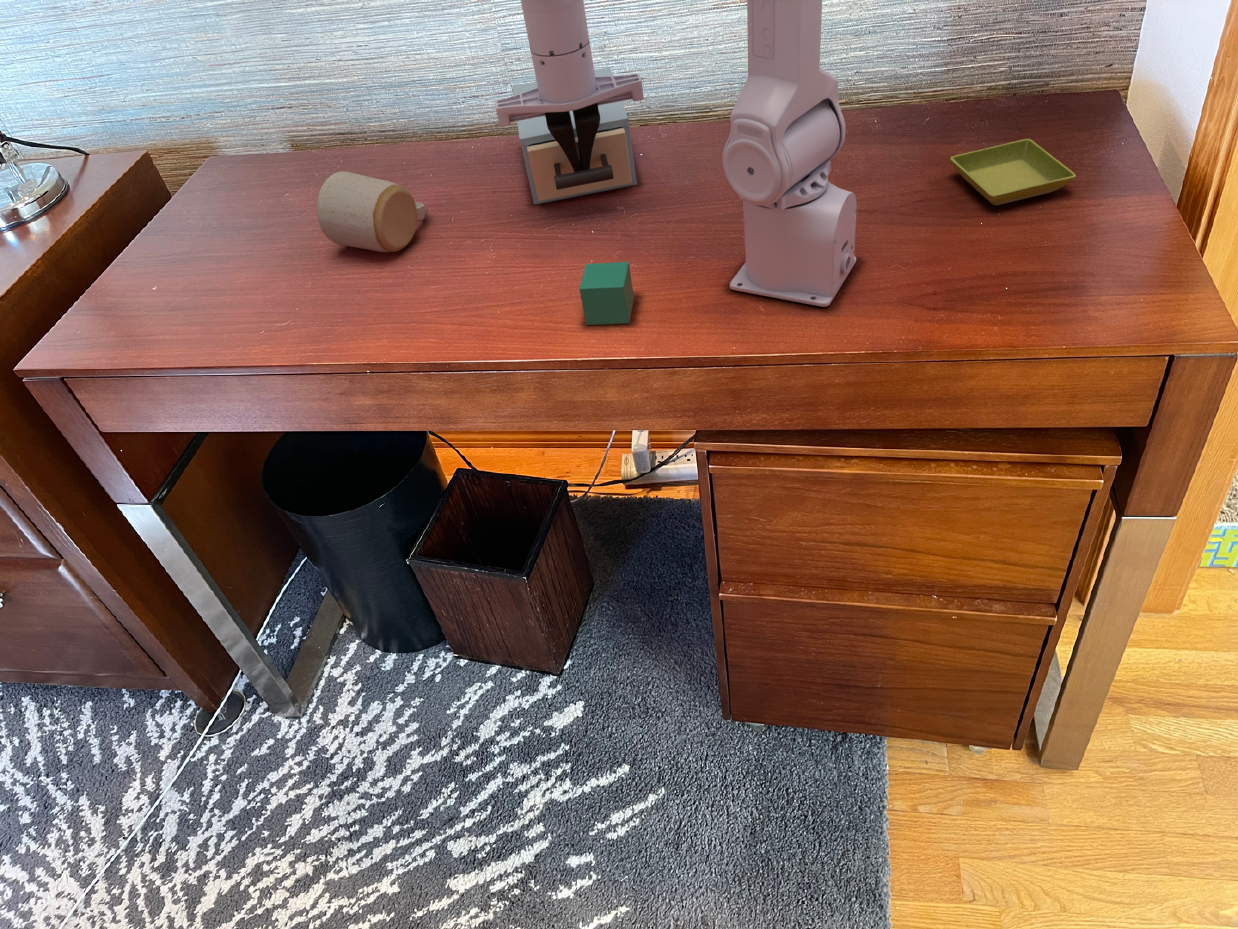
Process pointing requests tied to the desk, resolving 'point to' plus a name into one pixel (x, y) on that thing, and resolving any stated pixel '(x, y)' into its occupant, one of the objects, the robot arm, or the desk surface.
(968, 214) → the desk surface
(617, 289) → the green cube
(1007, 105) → the desk surface
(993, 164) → the olive green square dish
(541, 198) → the drawer
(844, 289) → the desk surface
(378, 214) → the ceramic mug
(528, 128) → the grey cabinet
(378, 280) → the desk surface
